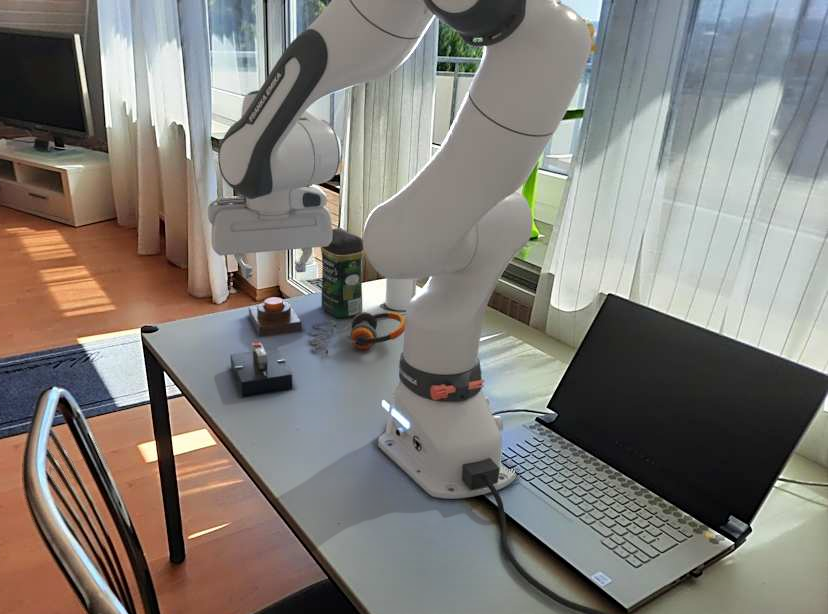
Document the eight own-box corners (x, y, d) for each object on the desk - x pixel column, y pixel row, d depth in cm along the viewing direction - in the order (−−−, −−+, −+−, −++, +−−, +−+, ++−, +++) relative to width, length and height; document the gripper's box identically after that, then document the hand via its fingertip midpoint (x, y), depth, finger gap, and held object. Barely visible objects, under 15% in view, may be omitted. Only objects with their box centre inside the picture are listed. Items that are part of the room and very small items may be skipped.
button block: (301, 331, 138) (301, 313, 136) (259, 336, 135) (258, 319, 133) (288, 311, 147) (287, 294, 145) (249, 316, 144) (247, 299, 143)
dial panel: (293, 389, 116) (292, 373, 115) (241, 397, 113) (240, 381, 112) (278, 361, 125) (277, 347, 124) (230, 368, 123) (229, 353, 121)
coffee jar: (316, 307, 150) (314, 228, 141) (345, 300, 153) (346, 223, 145) (337, 322, 142) (337, 240, 134) (367, 314, 146) (369, 234, 138)
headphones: (310, 312, 140) (401, 294, 138) (316, 333, 142) (406, 316, 140) (302, 347, 125) (405, 328, 123) (309, 371, 128) (410, 352, 125)
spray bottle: (420, 305, 151) (425, 229, 143) (401, 313, 147) (405, 236, 139) (398, 297, 156) (401, 223, 147) (379, 305, 151) (381, 229, 143)
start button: (285, 310, 138) (285, 303, 138) (266, 312, 137) (266, 305, 136) (280, 303, 142) (280, 296, 141) (262, 305, 141) (262, 298, 140)
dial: (267, 369, 116) (266, 353, 115) (258, 370, 116) (257, 354, 114) (261, 357, 120) (260, 341, 119) (253, 358, 120) (252, 342, 118)
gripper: (209, 203, 100) (216, 286, 107) (336, 195, 106) (334, 274, 113) (204, 193, 105) (210, 272, 112) (325, 186, 112) (324, 262, 118)
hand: (274, 273), depth 113 cm, fingers open, 8 cm apart
